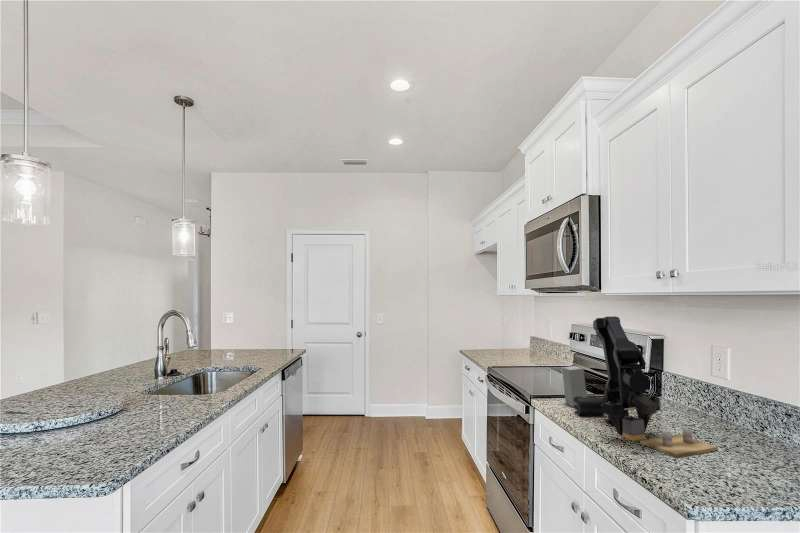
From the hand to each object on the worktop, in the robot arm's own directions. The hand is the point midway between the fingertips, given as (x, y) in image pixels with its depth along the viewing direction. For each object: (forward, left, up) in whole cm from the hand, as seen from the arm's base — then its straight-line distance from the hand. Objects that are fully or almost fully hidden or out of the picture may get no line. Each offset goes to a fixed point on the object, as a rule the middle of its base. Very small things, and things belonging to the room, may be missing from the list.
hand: (632, 433), depth 132 cm
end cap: (-25, +5, -2) cm, 26 cm away
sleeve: (0, 0, -1) cm, 1 cm away
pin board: (+11, +6, -1) cm, 13 cm away
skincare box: (-38, +9, -2) cm, 39 cm away
